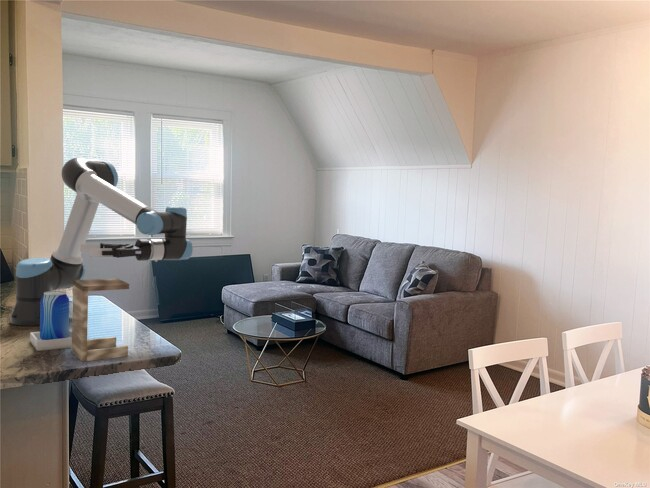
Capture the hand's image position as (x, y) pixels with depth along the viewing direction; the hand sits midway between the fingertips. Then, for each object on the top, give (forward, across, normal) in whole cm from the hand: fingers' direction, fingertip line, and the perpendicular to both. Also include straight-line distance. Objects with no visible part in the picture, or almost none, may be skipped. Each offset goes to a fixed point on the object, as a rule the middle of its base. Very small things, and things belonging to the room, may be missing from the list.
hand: (85, 250), depth 184 cm
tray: (+9, 0, -31) cm, 32 cm away
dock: (-1, -17, -31) cm, 35 cm away
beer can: (+9, 0, -30) cm, 31 cm away
